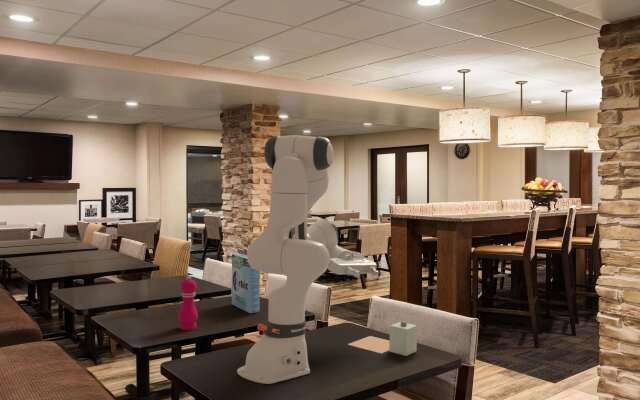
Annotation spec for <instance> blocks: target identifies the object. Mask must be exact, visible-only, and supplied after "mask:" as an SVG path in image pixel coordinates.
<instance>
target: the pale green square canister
mask: <svg viewBox="0 0 640 400" xmlns="http://www.w3.org/2000/svg"><path fill="white" fill-rule="evenodd" d="M417 343H418V325H416V324H413V323H408V322H407V321H405V320H404V321H403V320H401V321H399V322H395V323H392V324H391V325H389V351H388V352H390V353H393V354H397V355H402V356H405V357H407V356H410V355H412V354H414V353H416V352H417V346H418V344H417Z"/></svg>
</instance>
